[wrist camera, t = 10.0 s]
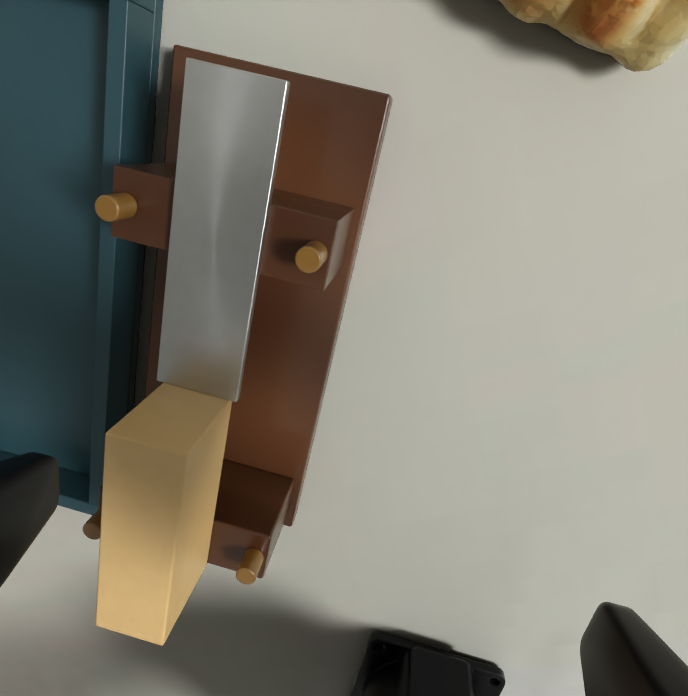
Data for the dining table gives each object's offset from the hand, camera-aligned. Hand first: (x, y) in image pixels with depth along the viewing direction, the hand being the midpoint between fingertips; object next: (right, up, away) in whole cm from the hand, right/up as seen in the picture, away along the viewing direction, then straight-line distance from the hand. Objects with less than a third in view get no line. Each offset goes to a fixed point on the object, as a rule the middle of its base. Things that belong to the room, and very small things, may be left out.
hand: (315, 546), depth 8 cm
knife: (-4, +3, +7) cm, 9 cm away
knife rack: (-3, +4, +12) cm, 13 cm away
